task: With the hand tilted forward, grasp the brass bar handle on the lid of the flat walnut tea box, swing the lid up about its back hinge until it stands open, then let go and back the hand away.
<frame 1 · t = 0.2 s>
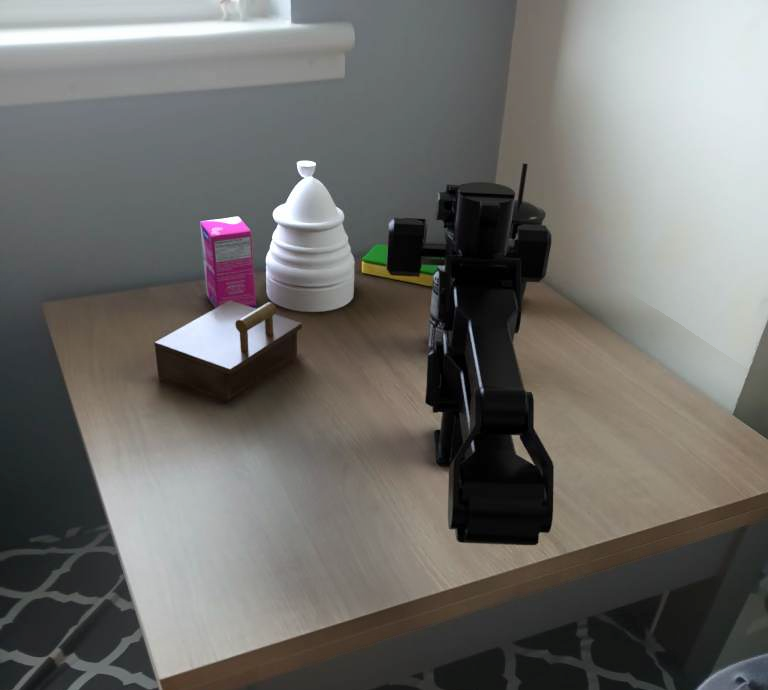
hand: (462, 225, 109), 17 cm above the table, tool horizontal, fingers open, 9 cm apart
lid: (229, 320, 107), point 7 cm above the table, hinge at 0.0°
beverage can: (451, 351, 118), on the table
dish sponge: (410, 274, 138), on the table
tea box: (229, 367, 112), on the table
drinking cup: (505, 303, 131), on the table
supplement box: (231, 305, 126), on the table
honey pot: (310, 294, 130), on the table
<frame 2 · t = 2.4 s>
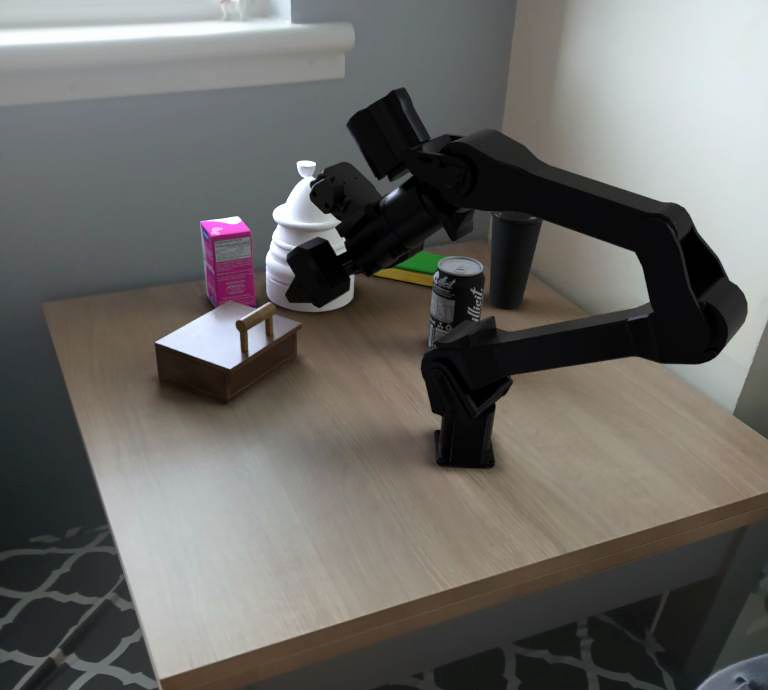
hand: (313, 285, 100), 14 cm above the table, tool tilted 50°, fingers open, 9 cm apart
nothing on the table moved.
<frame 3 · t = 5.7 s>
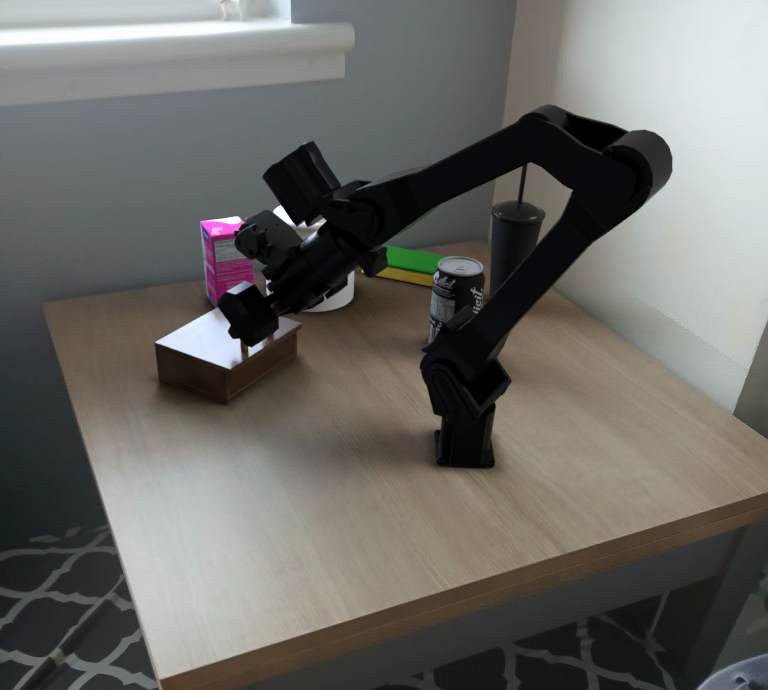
hand: (247, 325, 106), 7 cm above the table, tool tilted 45°, fingers closed on lid, 6 cm apart
lid: (229, 320, 107), point 7 cm above the table, hinge at 0.0°, touching gripper
everything else where it was.
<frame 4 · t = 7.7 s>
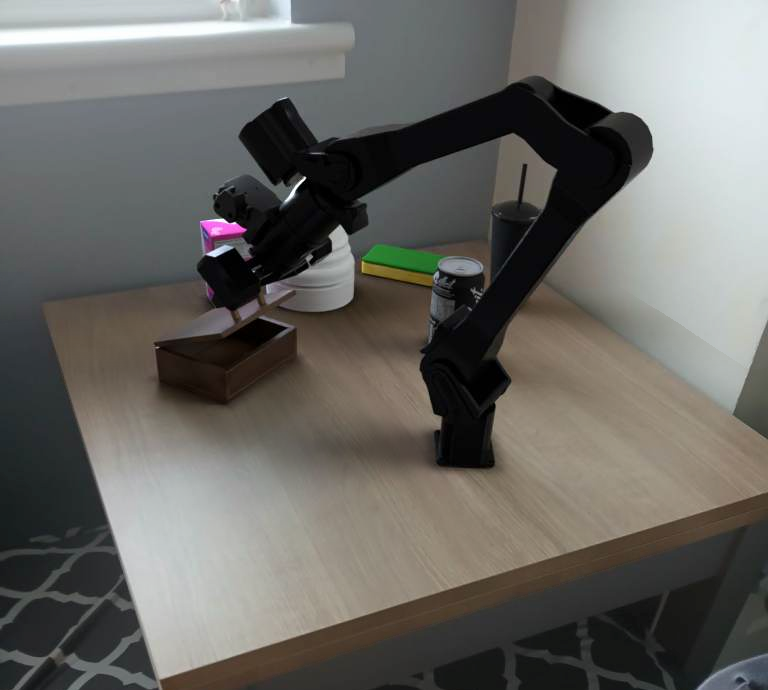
hand: (231, 295, 105), 10 cm above the table, tool tilted 45°, fingers closed on lid, 6 cm apart
lid: (220, 302, 106), point 9 cm above the table, hinge at 22.5°, touching gripper
everything else where it was.
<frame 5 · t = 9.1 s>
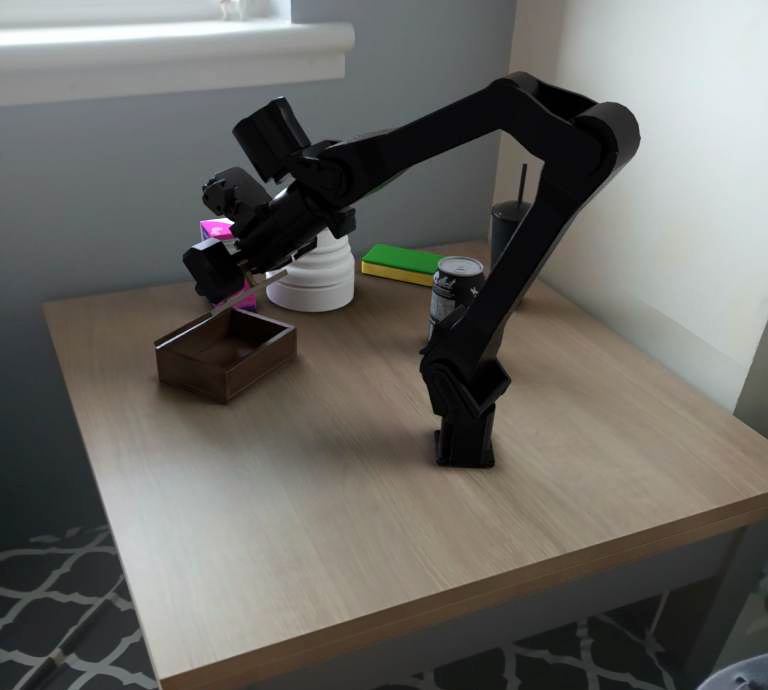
hand: (214, 283, 105), 11 cm above the table, tool tilted 50°, fingers closed on lid, 6 cm apart
lid: (213, 292, 106), point 10 cm above the table, hinge at 35.8°, touching gripper
everything else where it was.
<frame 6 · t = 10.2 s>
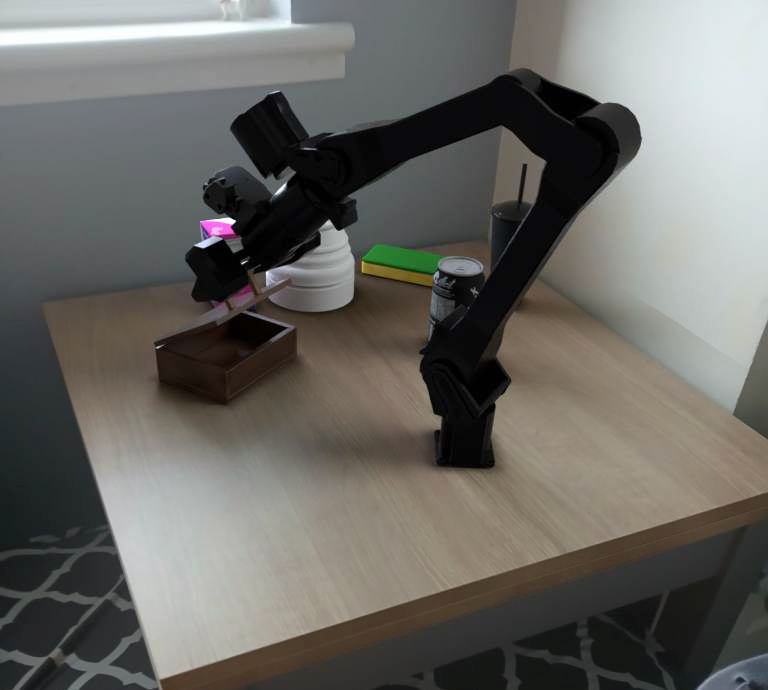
hand: (219, 285, 105), 11 cm above the table, tool tilted 45°, fingers open, 9 cm apart
lid: (216, 296, 106), point 9 cm above the table, hinge at 30.0°
everything else where it was.
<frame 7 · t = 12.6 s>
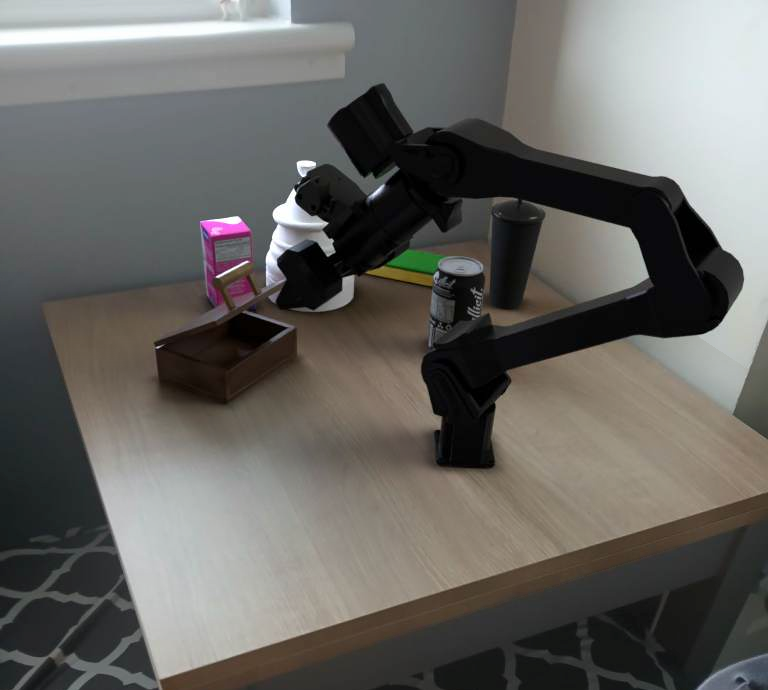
hand: (302, 291, 99), 13 cm above the table, tool tilted 45°, fingers open, 9 cm apart
nothing on the table moved.
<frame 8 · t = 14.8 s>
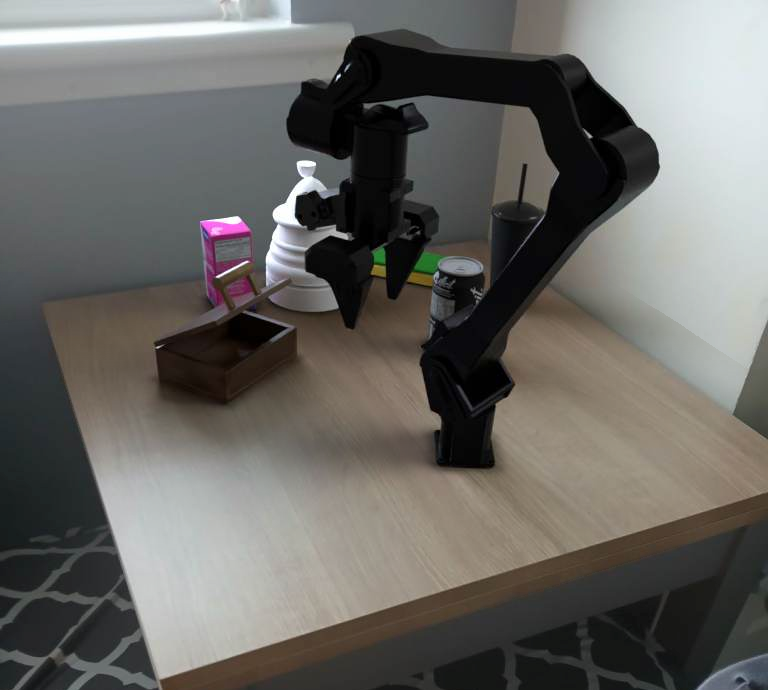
hand: (371, 313, 99), 12 cm above the table, tool pointing down, fingers open, 9 cm apart
nothing on the table moved.
at the end: lid at +30° (first picture: +0°) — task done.
